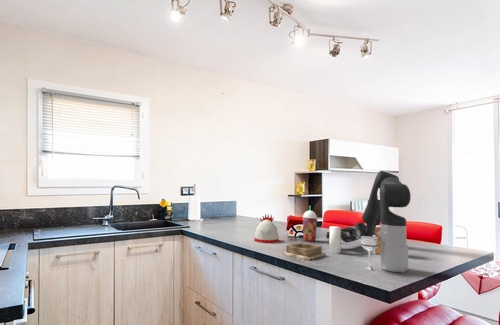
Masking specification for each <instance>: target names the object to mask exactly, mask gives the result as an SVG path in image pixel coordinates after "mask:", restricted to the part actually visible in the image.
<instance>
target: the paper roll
mask: <svg viewBox="0 0 500 325" xmlns="http://www.w3.org/2000/svg"><path fill="white" fill-rule="evenodd" d="M341 229H342V227H341V226H334V225H333V226H329V232H330V238H329V245H328V246H329V253H330V254H335V255H336V254H341V251H342V250H341V249H342V247H341V246H342V245H341V242H342V239H341Z"/></svg>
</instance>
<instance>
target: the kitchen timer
mask: <svg viewBox="0 0 500 325" xmlns="http://www.w3.org/2000/svg"><path fill="white" fill-rule="evenodd" d="M259 219H260V223H259V224H258V225H257V227H256V229H255V233H254V236H253V240H254V242H257V243H261V244H275V243H279V241H280V236H279V232H278V228H277V227H276V225H275V223H274V222H273V221H274V220H275V217H273V215H272V214H270V216H269V213H268V214H266V213H265V215H262V218H261V217H260V218H259Z"/></svg>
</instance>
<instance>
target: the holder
mask: <svg viewBox="0 0 500 325" xmlns="http://www.w3.org/2000/svg"><path fill="white" fill-rule="evenodd" d="M322 249H323V248H322V246H321V245H315V244H309V243H304V242H298V243H294V244H289V245H286V251H283V252H282V256H287V257H292V258H295V257H296V259H300V258H301V260H304V259H306V260H305V261H312V260H315V258H316V259H319V258H321V257H324V256H326V255H327V253H326V252H322V251H323V250H322ZM318 257H319V258H318ZM311 259H312V260H311Z"/></svg>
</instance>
